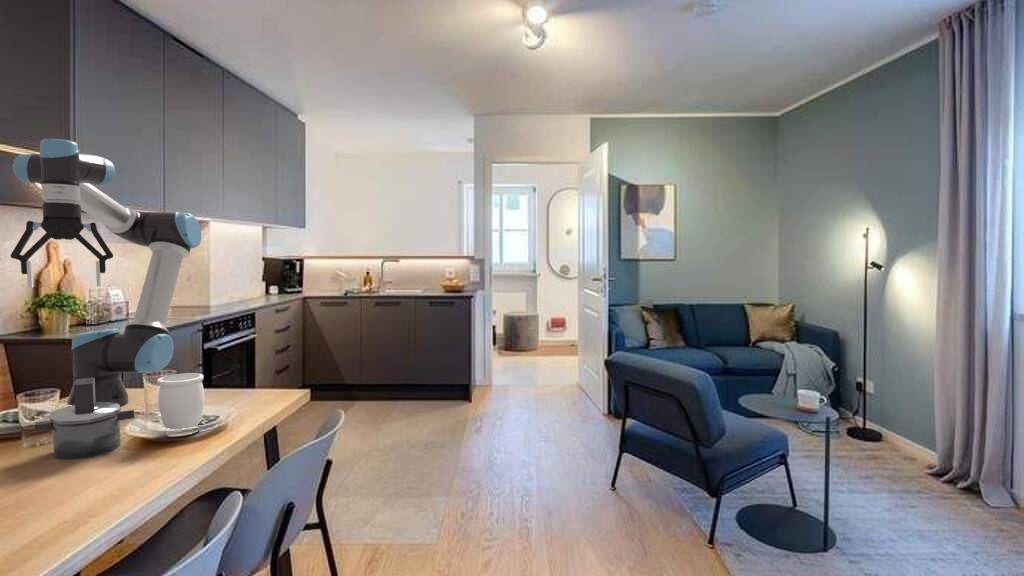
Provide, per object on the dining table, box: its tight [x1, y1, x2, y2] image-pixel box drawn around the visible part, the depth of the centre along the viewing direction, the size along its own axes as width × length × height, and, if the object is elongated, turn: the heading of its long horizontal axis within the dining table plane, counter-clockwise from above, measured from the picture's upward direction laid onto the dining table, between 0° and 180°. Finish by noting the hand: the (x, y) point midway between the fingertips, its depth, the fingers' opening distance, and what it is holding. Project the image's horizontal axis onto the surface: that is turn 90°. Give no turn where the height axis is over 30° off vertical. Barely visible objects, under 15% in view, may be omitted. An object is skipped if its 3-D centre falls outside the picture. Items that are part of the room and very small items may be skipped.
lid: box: [49, 377, 121, 423], centre depth 135 cm, size 13×13×8 cm
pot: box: [34, 407, 135, 460], centre depth 136 cm, size 14×19×9 cm
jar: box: [157, 372, 205, 429], centre depth 148 cm, size 11×10×15 cm
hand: (65, 286), depth 143 cm, fingers open, 13 cm apart
